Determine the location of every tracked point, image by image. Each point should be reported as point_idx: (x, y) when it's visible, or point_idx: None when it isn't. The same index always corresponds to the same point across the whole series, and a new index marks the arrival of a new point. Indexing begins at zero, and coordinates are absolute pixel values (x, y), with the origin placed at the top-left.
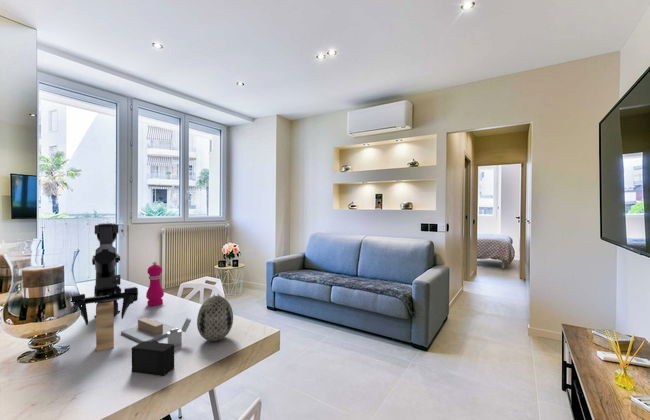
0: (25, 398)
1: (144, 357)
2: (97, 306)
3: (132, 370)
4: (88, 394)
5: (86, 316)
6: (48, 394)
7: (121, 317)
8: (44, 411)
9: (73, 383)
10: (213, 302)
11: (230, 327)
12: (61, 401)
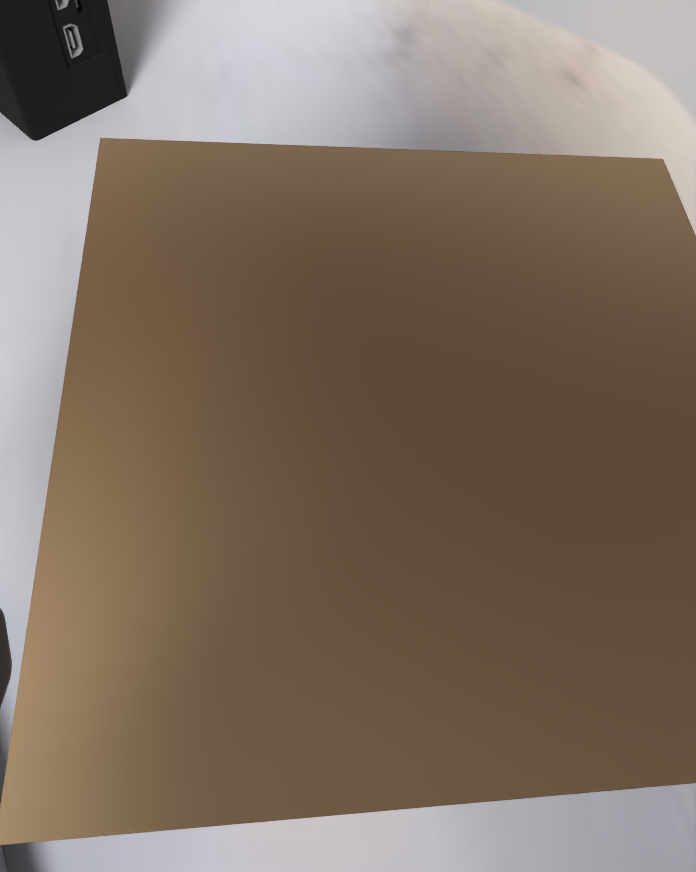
0: (639, 141)
1: None
2: (664, 267)
3: (120, 82)
4: (344, 28)
5: None
6: (539, 119)
7: (1, 614)
8: (499, 13)
9: None
10: None
11: None
12: (453, 39)
